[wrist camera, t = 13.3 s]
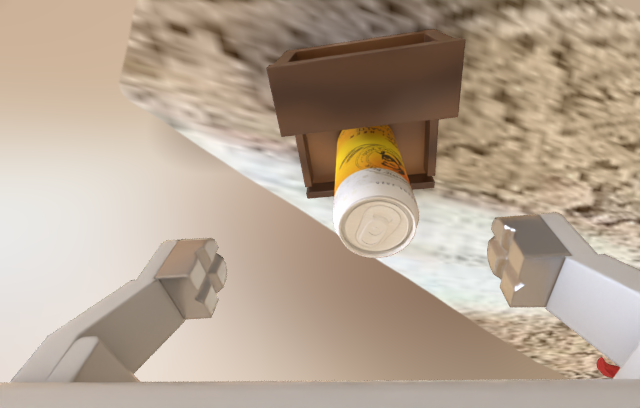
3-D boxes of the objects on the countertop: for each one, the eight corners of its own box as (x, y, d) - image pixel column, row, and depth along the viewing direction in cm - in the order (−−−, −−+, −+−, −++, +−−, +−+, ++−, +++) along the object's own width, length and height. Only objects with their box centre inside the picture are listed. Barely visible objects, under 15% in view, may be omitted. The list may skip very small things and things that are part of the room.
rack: (285, 48, 31) (265, 68, 24) (434, 26, 29) (465, 39, 22) (310, 183, 39) (301, 229, 32) (427, 172, 38) (448, 219, 30)
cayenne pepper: (588, 362, 56) (595, 373, 54) (616, 351, 54) (624, 362, 52) (623, 387, 59) (630, 398, 58) (650, 377, 57) (659, 389, 56)
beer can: (404, 127, 33) (440, 210, 21) (378, 175, 36) (395, 271, 24) (351, 105, 32) (354, 179, 20) (328, 156, 36) (319, 246, 23)
